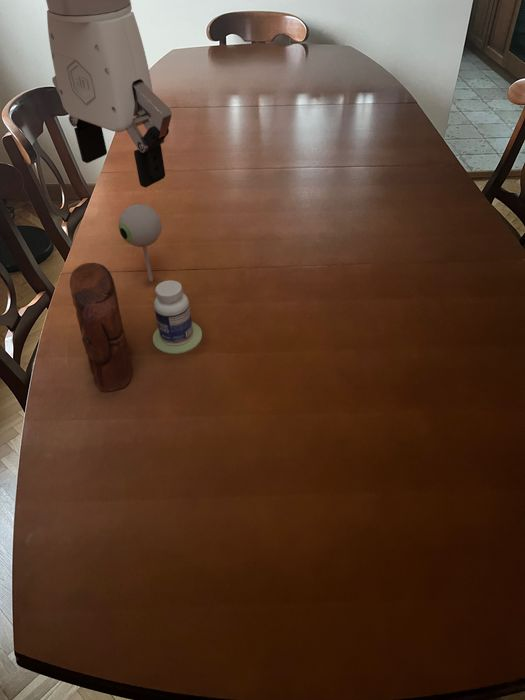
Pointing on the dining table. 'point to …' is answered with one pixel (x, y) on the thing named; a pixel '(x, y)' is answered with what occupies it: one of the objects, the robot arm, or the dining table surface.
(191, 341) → the coaster
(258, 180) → the dining table surface
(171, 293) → the pill bottle
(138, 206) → the lollipop
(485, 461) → the dining table surface
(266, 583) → the dining table surface
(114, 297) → the wooden figurine
